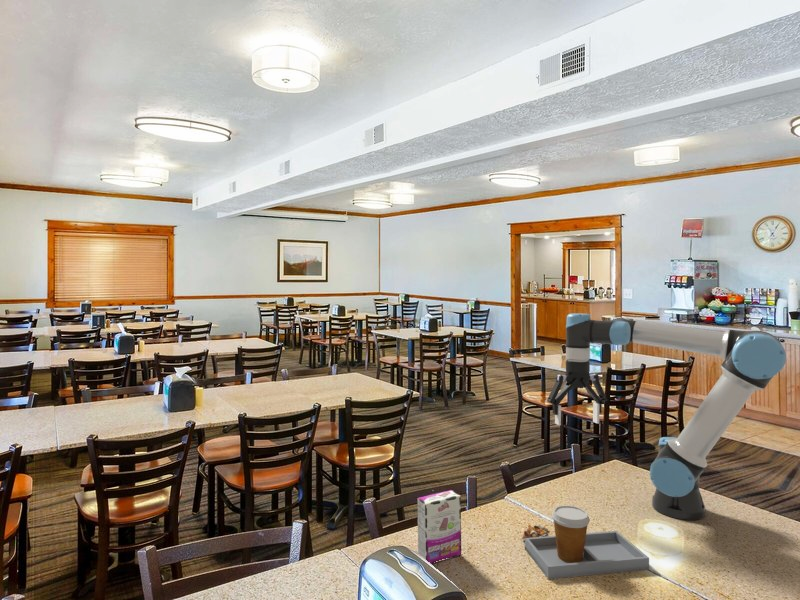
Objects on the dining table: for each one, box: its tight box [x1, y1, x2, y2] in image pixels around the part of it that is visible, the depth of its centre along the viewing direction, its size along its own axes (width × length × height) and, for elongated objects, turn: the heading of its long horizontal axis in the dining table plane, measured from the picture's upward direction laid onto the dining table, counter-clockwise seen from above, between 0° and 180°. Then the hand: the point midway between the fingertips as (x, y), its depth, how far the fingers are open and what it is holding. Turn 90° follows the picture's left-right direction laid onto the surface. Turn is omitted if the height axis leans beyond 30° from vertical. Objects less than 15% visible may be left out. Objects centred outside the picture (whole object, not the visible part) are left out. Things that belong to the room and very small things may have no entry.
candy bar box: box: [416, 489, 462, 565], centre depth 137 cm, size 11×5×16 cm, turn 117°
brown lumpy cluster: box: [521, 523, 549, 541], centre depth 149 cm, size 7×12×4 cm, turn 162°
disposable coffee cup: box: [551, 504, 591, 563], centre depth 135 cm, size 10×10×12 cm
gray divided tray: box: [524, 530, 650, 579], centre depth 136 cm, size 27×15×3 cm, turn 99°
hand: (577, 423), depth 170 cm, fingers open, 13 cm apart
